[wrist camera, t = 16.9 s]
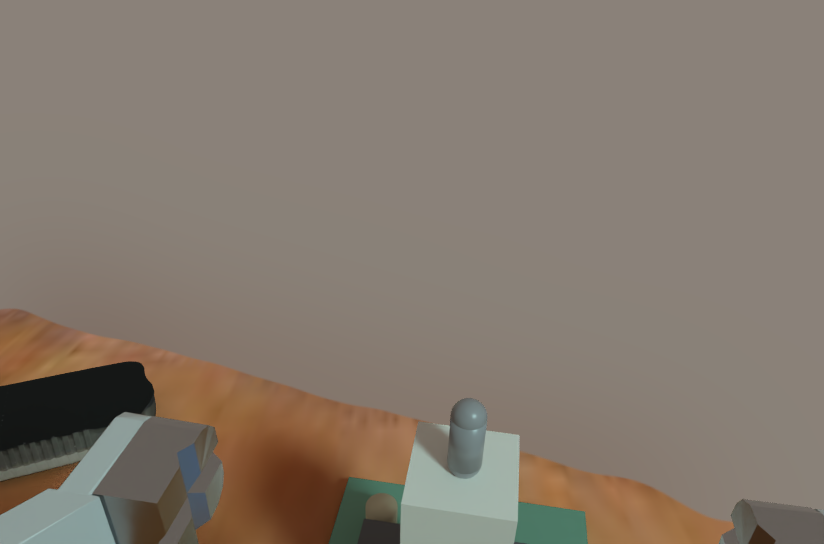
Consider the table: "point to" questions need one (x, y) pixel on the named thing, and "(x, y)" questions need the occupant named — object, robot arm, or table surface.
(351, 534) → the board
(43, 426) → the black scrub brush
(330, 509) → the table surface
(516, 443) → the plug
